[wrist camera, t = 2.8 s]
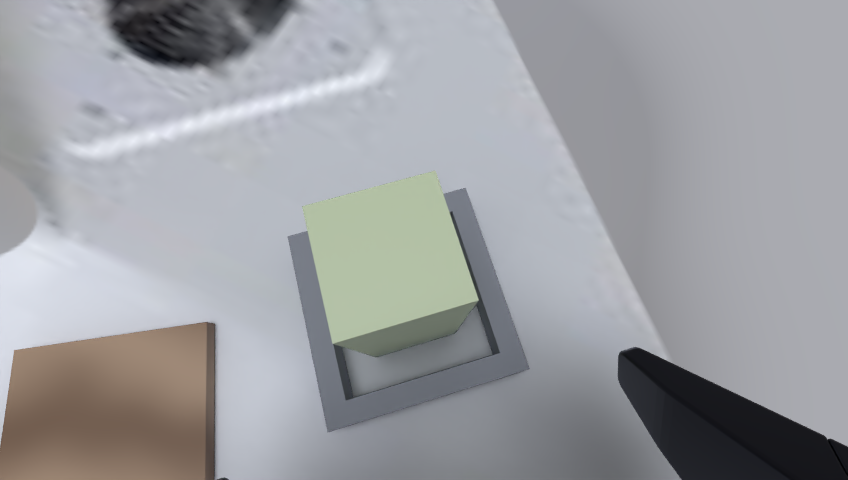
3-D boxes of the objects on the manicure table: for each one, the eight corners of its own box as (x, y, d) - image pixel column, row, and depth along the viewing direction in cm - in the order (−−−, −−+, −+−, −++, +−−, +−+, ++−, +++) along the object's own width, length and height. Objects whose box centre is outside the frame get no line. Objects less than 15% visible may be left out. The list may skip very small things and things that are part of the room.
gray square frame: (519, 369, 20) (529, 369, 18) (337, 426, 19) (327, 432, 18) (462, 203, 23) (465, 188, 21) (299, 248, 22) (287, 236, 20)
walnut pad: (213, 531, 18) (204, 538, 17) (0, 567, 18) (-19, 576, 17) (214, 323, 21) (206, 322, 20) (29, 351, 21) (14, 350, 20)
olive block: (454, 333, 21) (478, 300, 11) (376, 357, 20) (332, 343, 11) (431, 258, 22) (435, 170, 12) (357, 279, 22) (302, 206, 12)
